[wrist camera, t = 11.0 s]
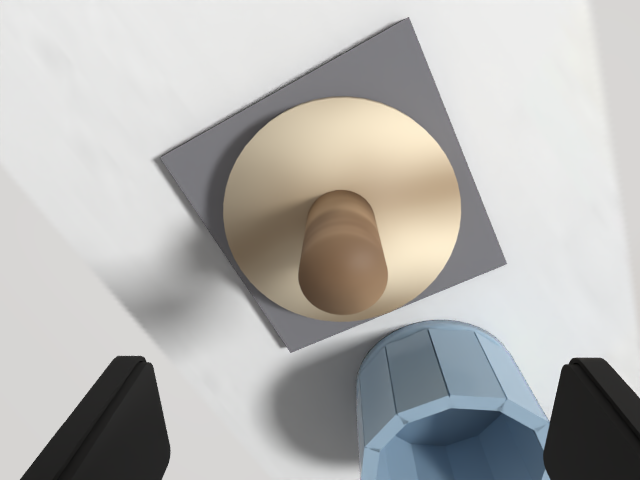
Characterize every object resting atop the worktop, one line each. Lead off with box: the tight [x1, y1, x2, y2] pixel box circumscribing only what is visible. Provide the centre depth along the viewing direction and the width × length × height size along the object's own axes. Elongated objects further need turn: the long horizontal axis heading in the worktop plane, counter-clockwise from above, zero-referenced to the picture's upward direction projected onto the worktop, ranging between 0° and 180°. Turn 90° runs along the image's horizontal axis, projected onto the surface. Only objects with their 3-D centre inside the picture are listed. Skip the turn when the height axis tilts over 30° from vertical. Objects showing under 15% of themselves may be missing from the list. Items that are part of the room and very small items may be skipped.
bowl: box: [356, 320, 550, 480], centre depth 22 cm, size 9×9×6 cm
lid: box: [223, 96, 461, 322], centre depth 17 cm, size 10×10×6 cm
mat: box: [160, 17, 507, 353], centre depth 20 cm, size 12×12×1 cm
